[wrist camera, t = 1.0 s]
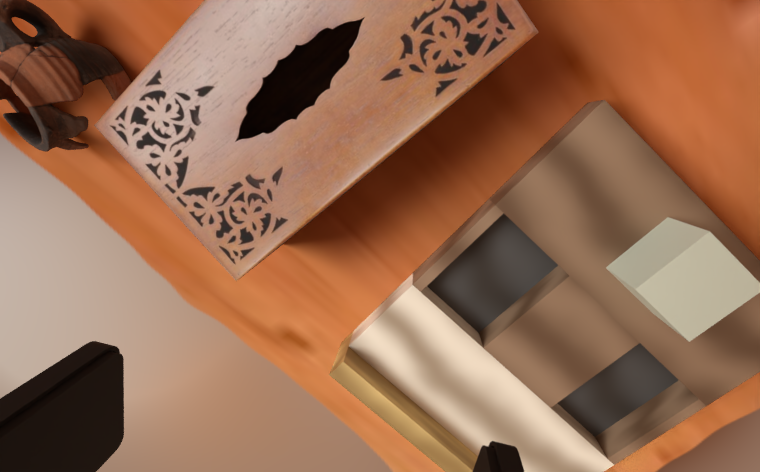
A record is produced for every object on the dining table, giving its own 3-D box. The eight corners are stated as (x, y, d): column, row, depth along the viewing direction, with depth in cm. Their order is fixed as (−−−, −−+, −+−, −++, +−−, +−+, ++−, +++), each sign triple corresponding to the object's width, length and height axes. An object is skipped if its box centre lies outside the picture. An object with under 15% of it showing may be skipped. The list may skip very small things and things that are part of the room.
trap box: (587, 102, 31) (621, 96, 25) (791, 312, 34) (860, 346, 28) (341, 342, 39) (329, 374, 34) (520, 493, 42) (534, 545, 37)
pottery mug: (160, 122, 36) (70, 156, 30) (116, 134, 41) (32, 164, 35) (79, -24, 30) (-52, -17, 24) (39, 11, 35) (-76, 23, 29)
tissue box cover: (394, -91, 29) (381, -202, 19) (502, 63, 31) (538, 32, 21) (183, 127, 35) (94, 125, 26) (283, 243, 37) (236, 281, 28)
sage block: (667, 217, 30) (709, 231, 25) (716, 266, 30) (765, 288, 26) (605, 267, 31) (635, 289, 27) (653, 313, 32) (689, 341, 28)
